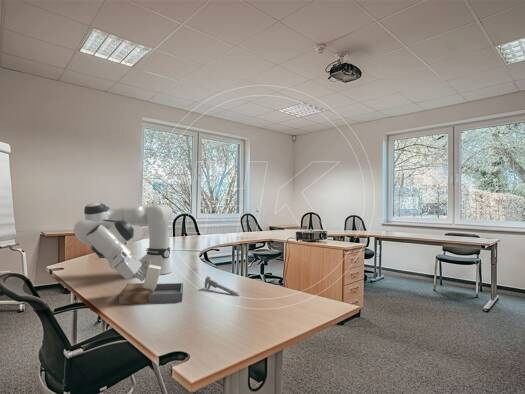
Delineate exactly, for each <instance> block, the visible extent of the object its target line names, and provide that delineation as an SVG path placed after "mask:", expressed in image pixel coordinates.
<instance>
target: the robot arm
mask: <svg viewBox="0 0 525 394" xmlns="http://www.w3.org/2000/svg"><path fill="white" fill-rule="evenodd" d="M83 211H84V217H85V219H82V220H78V221H77V222H76V223H75V224H74V226H73V234H74V235H75V237H76V238H77V240H79V241H80V242H81V243H83V244H85V245H91V247H90V251H92V252H93V253H95V255H97V257H98V259H105V260H107V261H108V265H109V268H111V269H114V270H115V271H116V272H117V273H118V274H119V275H121V276H122V277H123V278H124V279H125V280H131V279H132V278H133V277H135V278H136V279H138V280H139V281H140V282H143V281H145V277H146V273H147V270H148V267H149V265H155V266H160V267H161V270H160V274H159V276H161V275H166V274H170V273H172V267H171V259H170V258H171V257H170V254H171V247H170V241H171V240H170V238H171V237H170V236H171V235H170V234H171V233H170V230H169V222H170V221H171V219H172V218H173V215H174V212H173V209H172V208H171V206H169V205H168V204H164V203H163V204H162V203H161V204H148V205H144V204H143V205H133V206H132V205H131V206H121V207H114V208H110V207H109V206H106V204H104V203H103V202H91V203H89V204H87V205H85V207H84V210H83ZM143 225H147V227H148V233H149V239H148V240H149V242H148V245H149V246H148V248H146V249H145V251H146V254H145V255H143V256H142V257H141V258H140V259H138V258H137V257H136V256H135V255H133V254H132V251H131V249H129V248H128V247H127V246H126V245H125V244H126V243H127V242H128V241H130V240H131V239H133V238H134V234H135V230H134V229H135V228H134V227H133V226H143Z"/></svg>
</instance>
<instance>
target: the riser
mask: <svg viewBox="0 0 525 394" xmlns="http://www.w3.org/2000/svg"><path fill="white" fill-rule="evenodd" d="M143 285H144V282H138V283H135V282H134V283H126V285H125V286H124V288H123V289H122V290H121V292H120V293H119V294H118V295H119V299H118V304H119V305H128V304H149V294H152V293H153V290H151V289H146V288H143Z"/></svg>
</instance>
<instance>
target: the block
mask: <svg viewBox="0 0 525 394" xmlns="http://www.w3.org/2000/svg"><path fill="white" fill-rule="evenodd" d="M160 270H161V267H160V266H155V265H149V267H148V270H147V273H146V275H145V279H144V280H143V281H144V282H143V283H144V285H143V288H146V289H151V290H155V288H156V286H157V284H158V281H159V277H160V275H159V274H160Z"/></svg>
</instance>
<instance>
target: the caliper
mask: <svg viewBox="0 0 525 394" xmlns="http://www.w3.org/2000/svg"><path fill="white" fill-rule="evenodd" d="M211 287H213V288H214V289H217V288H218V289H219V290H220V289H221V291H225V292H227V293H228V294H230V295H233V296H238V297H239V296H241V294H239V292H238V291H235V290H233V289H231V288H229V287H226V286H224V285H222V284H220V283H218V281H216V280H213V279H211V276H209V275H207V276H206V277H205V280H204V289H207V290H209V289H211Z"/></svg>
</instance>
